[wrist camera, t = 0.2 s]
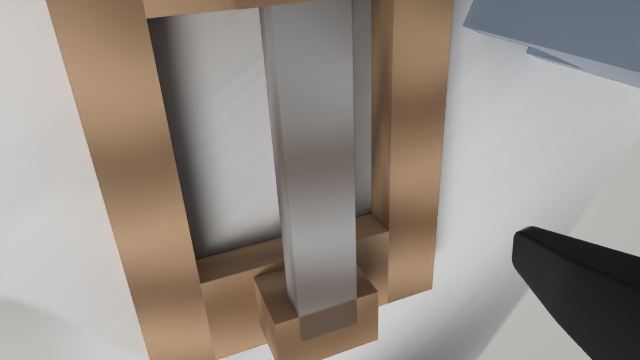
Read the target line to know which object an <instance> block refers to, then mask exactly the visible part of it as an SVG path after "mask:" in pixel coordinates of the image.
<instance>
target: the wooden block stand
mask: <svg viewBox="0 0 640 360" xmlns="http://www.w3.org/2000/svg"><path fill="white" fill-rule="evenodd" d="M46 3H47V6H48V10H49V13H50V16H51V20H52V23H53V27H54V30H55V34H56V37H57V41H58V44H59V48H60V51H61V54H62V58H63V61H64V65H65V68H66V72H67V75H68V79H69V82H70V86H71V89H72V92H73V96H74V99H75V103H76V106H77V110H78V113H79V117H80V120H81V123H82V127H83V130H84V134H85V137H86V141H87V144H88V148H89V151H90V155H91V158H92V161H93V165H94V168H95V172H96V175H97V179H98V182H99V186H100V189H101V192H102V196H103V199H104V203H105V206H106V210H107V213H108V217H109V220H110V224H111V227H112V230H113V234H114V237H115V241H116V244H117V248H118V251H119V255H120V258H121V261H122V265H123V268H124V272H125V275H126V279H127V282H128V286H129V289H130V293H131V296H132V299H133V303H134V306H135V310H136V313H137V317H138V320H139V324H140V327H141V331H142V334H143V337H144V341H145V344H146V348H147V351H148V355H149V358H150V360H218V359H222V358H225V357H228V356H231V355H234V354H237V353H240V352H243V351H246V350H249V349H252V348H255V347H258V346H261V345H264V344H267V343H268V345H269V347H270V349H271V352H272V354H273V357H274V359H275V360H321V359H324V358H327V357H330V356H333V355H335V354H338V353H341V352H344V351H347V350H350V349H352V348H355V347H358V346H361V345H364V344H366V343H369V342H372V341H375V340H378V306H381V305H384V304H387V303H390V302H393V301H396V300H400V299H403V298H406V297H409V296H412V295H415V294H418V293H421V292H424V291H427V290H430V289H432V281H433V268H434V254H435V241H436V227H437V214H438V200H439V187H440V173H441V160H442V146H443V133H444V119H445V106H446V92H447V79H448V65H449V52H450V38H451V25H452V11H453V0H372V213H371V214H367V215H363V216H360V217H356V218H355V161H354V101H353V40H352V0H46ZM256 7H259V14H260V24H261V33H262V43H263V53H264V63H265V73H266V83H267V93H268V103H269V113H270V123H271V133H272V143H273V153H274V163H275V173H276V183H277V193H278V203H279V213H280V223H281V233H282V237H280V238H276V239H273V240H269V241H265V242H261V243H257V244H254V245H250V246H246V247H242V248H239V249H235V250H231V251H227V252H223V253H220V254H216V255H212V256H208V257H204V258H201V259H197V260H195V255H194V250H193V245H192V240H191V236H190V231H189V226H188V221H187V216H186V211H185V206H184V201H183V196H182V191H181V186H180V181H179V177H178V172H177V167H176V162H175V157H174V152H173V147H172V142H171V137H170V132H169V127H168V122H167V117H166V113H165V108H164V103H163V98H162V93H161V88H160V83H159V78H158V73H157V68H156V63H155V58H154V54H153V49H152V44H151V39H150V34H149V29H148V24H147V18H156V17H165V16H174V15H183V14H192V13H201V12H211V11H220V10H229V9H247V8H256Z"/></svg>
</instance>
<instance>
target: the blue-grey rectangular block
mask: <svg viewBox="0 0 640 360" xmlns="http://www.w3.org/2000/svg"><path fill="white" fill-rule="evenodd" d="M463 26H464V27H467V28H469V29H471V30H474V31H476V32H478V33H481V34H485V35H488V36H492V37H496V38H499V39H503V40H507V41H511V42H514V43H518V44H522V45H525V46H529V49H528V51H527V53H528V54H530V55H532V56H535V57H537V58H539V59H542V60H546V61H549V62H553V63H556V64H559V65H563V66H566V67H570V68H573V69H576V70H580V71H583V72H587V73H590V74H594V75H597V76H600V77H604V78H607V79H611V80H614V81H618V82H621V83H624V84H628V85H631V86H635V87H638V88H640V0H474V1H473V4H472V6H471V8H470V11H469V13H468V16H467V18H466V20H465V23H464V25H463Z"/></svg>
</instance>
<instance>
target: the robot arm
mask: <svg viewBox="0 0 640 360" xmlns="http://www.w3.org/2000/svg"><path fill="white" fill-rule="evenodd" d="M512 262H513V265H514V267H515V269H516V270H517V272H518V273H519V274H520V276H521V277H522V278H523V279H524V281H525V282H526V283H527V285H528V286H529V287H530V288H531V290H532V291H533V292H534V294H535V295H536V296H537V297H538V299H539V300H540V301H541V303H542V304H543V305H544V307H545V308H546V309H547V310H548V312H549V313H550V314H551V315H552V317H553V318H554V319H555V320H556V321H557V323H558V324H559V325H560V326H561V327H562V328H563V329H564V330H565V331H566V332H567V334H568V335H570V337H571V338H572V339H573V340H574V341H575V342H576V343H577V344H578V345H579V346H580V347H581V348H582V349H583V350H584V352H586V354H587V355H588V356H589V357H590V358H591V359H592V360H640V257H638V256H634V255H631V254H628V253H624V252H621V251H617V250H613V249H610V248H607V247H603V246H600V245H597V244H593V243H589V242H586V241H583V240H579V239H576V238H572V237H569V236H566V235H562V234H559V233H555V232H552V231H548V230H545V229H541V228H538V227H534V226H530V227H527V228H524V229H522V230H520V231H517V232H516V233H515V235H514V240H513V251H512Z"/></svg>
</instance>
